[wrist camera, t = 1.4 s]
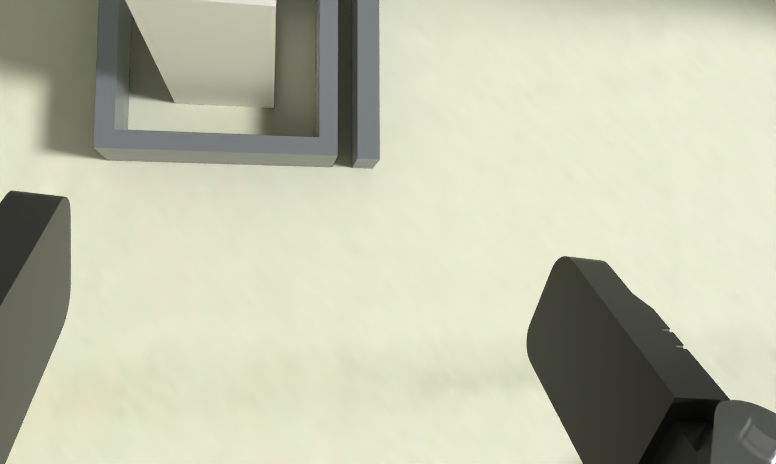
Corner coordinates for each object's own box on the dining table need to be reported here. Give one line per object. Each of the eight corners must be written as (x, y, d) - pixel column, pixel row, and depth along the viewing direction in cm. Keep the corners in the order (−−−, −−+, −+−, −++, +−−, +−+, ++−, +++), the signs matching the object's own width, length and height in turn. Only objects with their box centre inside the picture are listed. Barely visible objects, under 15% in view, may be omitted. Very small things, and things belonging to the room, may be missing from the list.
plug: (177, 9, 31) (121, -169, 19) (275, 16, 32) (278, -151, 20) (174, 103, 30) (115, -21, 19) (273, 107, 31) (276, -9, 19)
